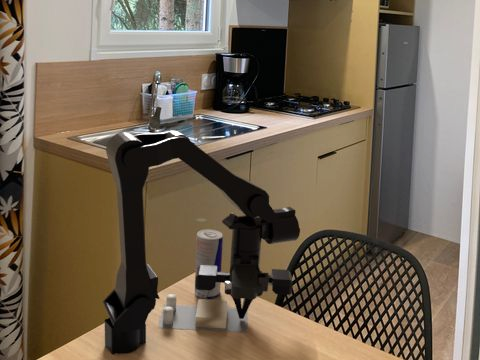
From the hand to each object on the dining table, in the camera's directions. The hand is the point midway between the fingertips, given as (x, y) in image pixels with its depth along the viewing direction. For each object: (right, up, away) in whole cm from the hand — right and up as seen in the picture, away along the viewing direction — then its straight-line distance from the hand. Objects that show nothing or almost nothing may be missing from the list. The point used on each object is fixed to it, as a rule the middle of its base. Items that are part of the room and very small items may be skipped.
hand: (241, 317), depth 108 cm
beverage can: (-7, +2, +11) cm, 13 cm away
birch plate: (-6, 0, 0) cm, 6 cm away
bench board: (-8, -1, 0) cm, 8 cm away
